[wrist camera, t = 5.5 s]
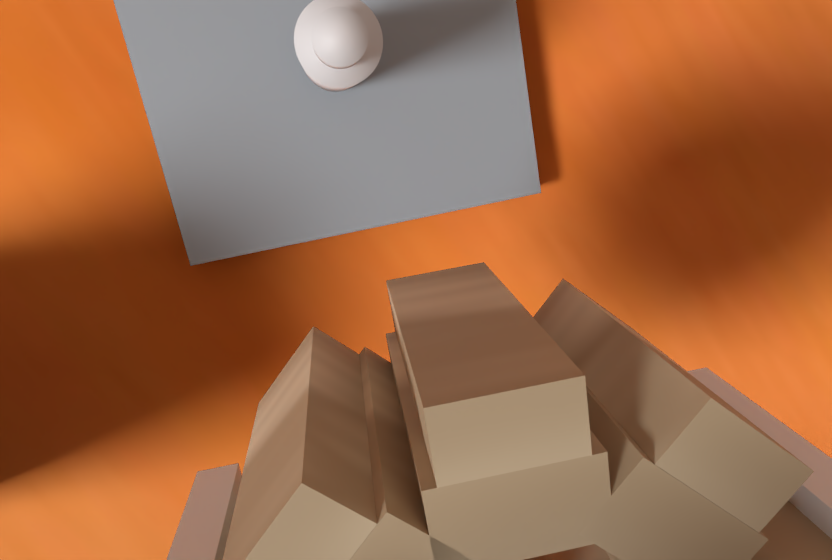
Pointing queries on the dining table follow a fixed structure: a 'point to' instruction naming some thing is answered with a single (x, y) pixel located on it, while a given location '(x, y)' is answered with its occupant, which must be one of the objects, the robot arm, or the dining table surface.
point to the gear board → (329, 113)
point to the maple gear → (509, 444)
